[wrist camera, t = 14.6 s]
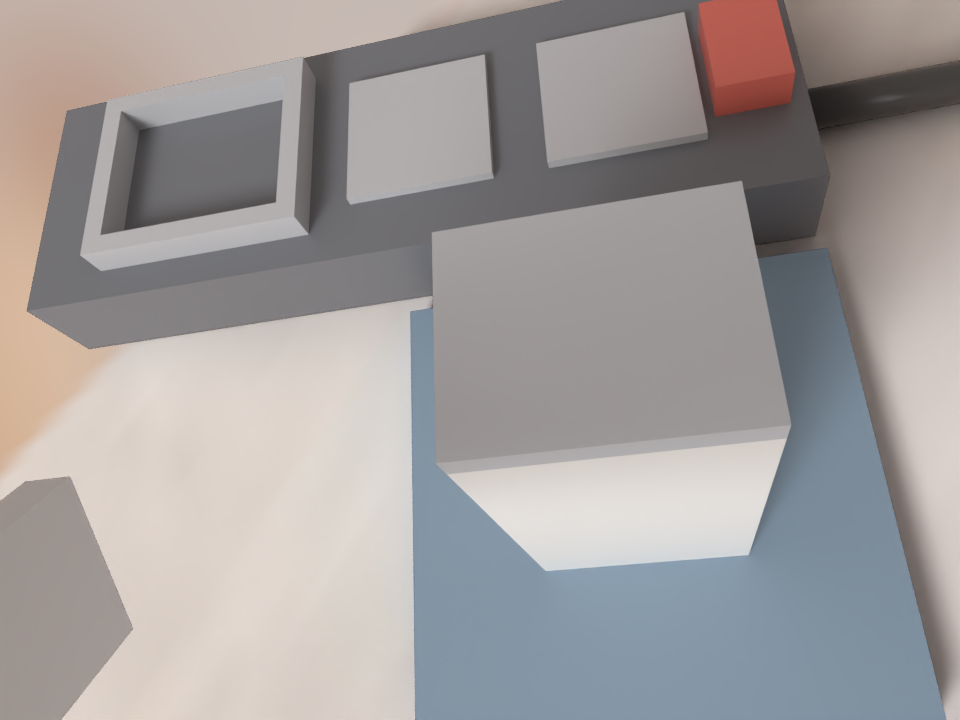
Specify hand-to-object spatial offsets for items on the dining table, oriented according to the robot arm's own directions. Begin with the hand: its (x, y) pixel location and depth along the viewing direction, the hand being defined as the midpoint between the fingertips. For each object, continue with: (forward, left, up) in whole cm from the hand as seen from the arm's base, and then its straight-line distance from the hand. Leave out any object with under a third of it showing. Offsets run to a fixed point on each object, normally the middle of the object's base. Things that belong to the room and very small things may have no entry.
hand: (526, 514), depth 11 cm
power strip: (+1, -14, -11) cm, 18 cm away
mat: (-1, -3, -11) cm, 12 cm away
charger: (-1, -3, -10) cm, 11 cm away
